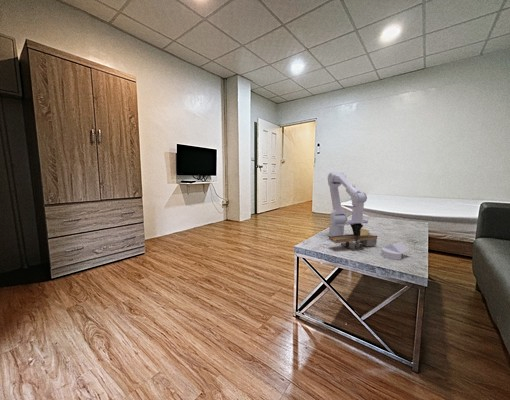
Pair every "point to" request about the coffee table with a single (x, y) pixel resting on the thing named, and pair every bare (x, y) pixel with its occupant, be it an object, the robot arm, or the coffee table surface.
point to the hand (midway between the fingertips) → (355, 235)
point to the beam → (366, 241)
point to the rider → (363, 233)
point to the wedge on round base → (394, 251)
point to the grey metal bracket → (353, 245)
